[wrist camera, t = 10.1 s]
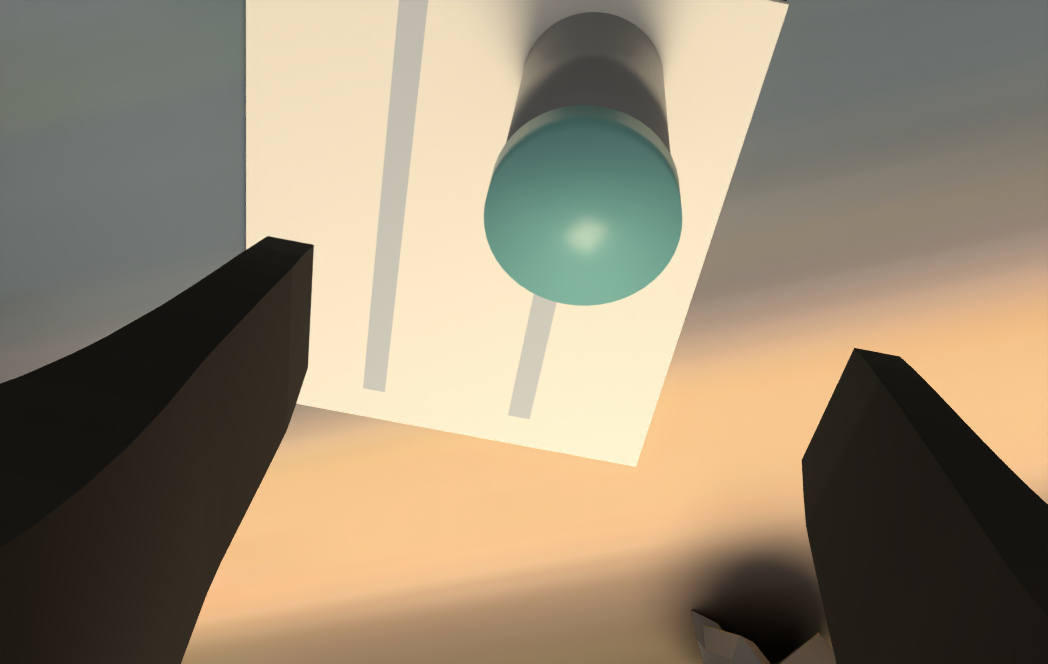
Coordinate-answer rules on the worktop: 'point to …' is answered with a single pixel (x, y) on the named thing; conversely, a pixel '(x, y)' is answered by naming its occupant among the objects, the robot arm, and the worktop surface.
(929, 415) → the robot arm
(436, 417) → the paper
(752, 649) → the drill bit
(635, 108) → the marker
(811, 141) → the worktop surface
